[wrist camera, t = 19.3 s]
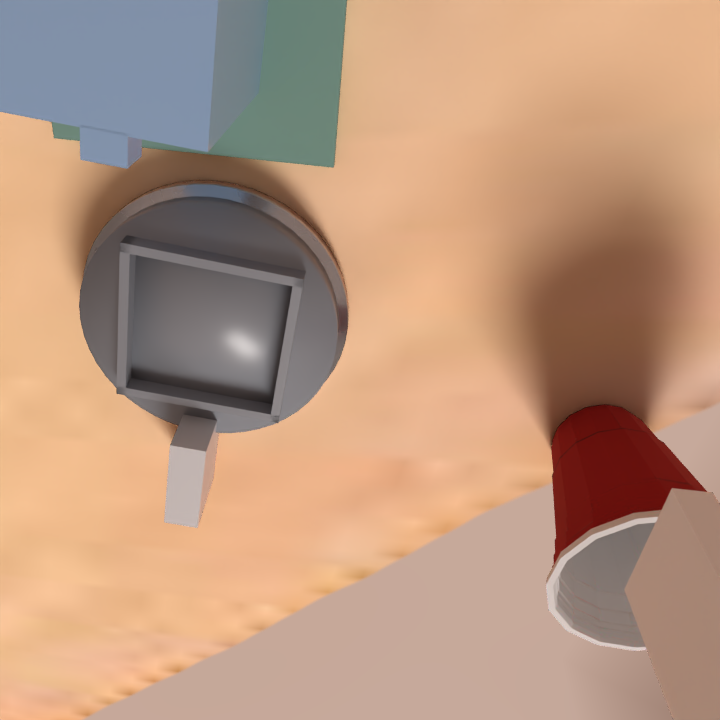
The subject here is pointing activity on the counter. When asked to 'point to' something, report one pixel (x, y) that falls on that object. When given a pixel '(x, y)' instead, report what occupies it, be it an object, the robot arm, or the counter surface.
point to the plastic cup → (605, 518)
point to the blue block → (132, 69)
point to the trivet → (285, 90)
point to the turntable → (208, 327)
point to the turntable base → (253, 200)
